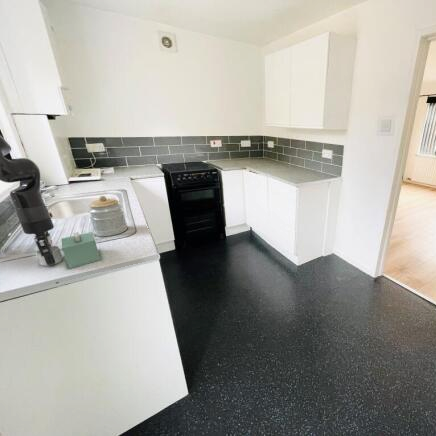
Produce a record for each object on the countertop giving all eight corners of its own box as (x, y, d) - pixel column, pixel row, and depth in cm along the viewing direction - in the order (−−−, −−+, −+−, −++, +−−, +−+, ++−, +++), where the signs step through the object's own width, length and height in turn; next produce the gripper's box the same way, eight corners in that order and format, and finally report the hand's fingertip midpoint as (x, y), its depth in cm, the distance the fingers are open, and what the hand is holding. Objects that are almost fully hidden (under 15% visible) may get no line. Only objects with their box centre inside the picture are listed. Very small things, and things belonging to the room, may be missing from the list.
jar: (119, 235, 112) (109, 198, 106) (88, 238, 111) (76, 200, 104) (132, 225, 124) (124, 192, 118) (104, 227, 123) (94, 193, 117)
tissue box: (69, 268, 86) (59, 242, 82) (68, 257, 93) (59, 233, 90) (100, 259, 91) (93, 235, 88) (97, 250, 99) (90, 227, 96)
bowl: (39, 268, 86) (34, 255, 84) (40, 261, 90) (35, 249, 89) (63, 262, 90) (59, 250, 88) (63, 256, 94) (59, 244, 93)
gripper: (21, 215, 87) (38, 257, 93) (17, 226, 77) (36, 272, 83) (50, 211, 92) (64, 250, 97) (49, 220, 82) (65, 264, 87)
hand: (51, 260), depth 90 cm, fingers closed on bowl, 6 cm apart
